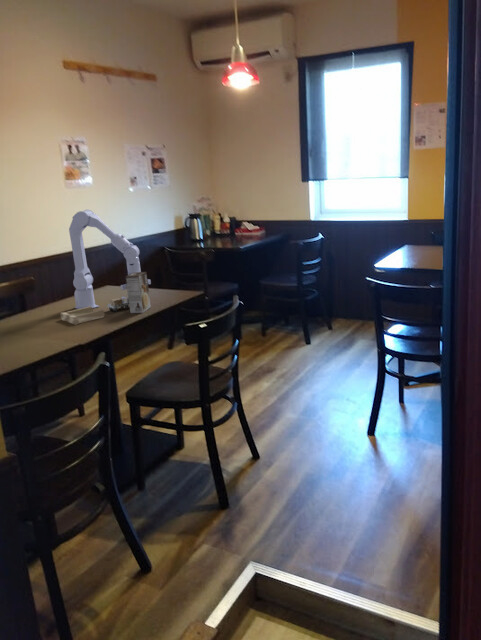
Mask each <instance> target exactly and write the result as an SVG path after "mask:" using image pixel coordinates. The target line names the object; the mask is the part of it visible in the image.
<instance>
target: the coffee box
mask: <svg viewBox="0 0 481 640" xmlns="http://www.w3.org/2000/svg"><path fill="white" fill-rule="evenodd" d="M124 277H125V284H126V285H127V289H126V290H127V291H126V292H127V297H128V299H129V313H130V314H137V313H145V312H147V311H149V309H151V308H152V305H151V304H152V303H151V298H150V297H151V296H150V289H149V284H148V274H147V271H141V272H136V273H132V274H130V275H128V274H127V275H126V276H124Z"/></svg>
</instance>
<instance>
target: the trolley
mask: <svg viewBox="0 0 481 640" xmlns="http://www.w3.org/2000/svg"><path fill="white" fill-rule="evenodd" d="M109 301H110V303H108V304H107V308H108V310H109V311H113V312H115V313H116V312H118V309H119V308H124V309H126V310H128V309H130V306H129V299H128V296H121V298H119V297H118V298H112V299H109Z"/></svg>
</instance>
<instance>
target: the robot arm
mask: <svg viewBox="0 0 481 640" xmlns="http://www.w3.org/2000/svg"><path fill="white" fill-rule="evenodd" d="M87 227H90V228H95V229H97V230H99V232H101V233H102V234H104V235H105V236H106V237H107V238H109V239H110V242H111V245H113V247H115V248H116V249H117V250H118V251H119V252H121V253H122V254H123V257H124V258H125V260H126V261H125V262H126V268H127V276H128V275H130V274H132V273H136V272H142V271H141V263H140V258H139V255H140V248H139V247H138V246H137V245H134V243H132V242H130V241H129V240H128V239H126V238H125V237H126V236H125V234H121V233H116V232H115V231H114V230H112V229H111V228H110V226H108V225H107V223H106V222H104V221H103V219H102V218H100V217H99V215H98V214H96V213H94V212H93V210H92V209H85V210H82V211H77V212H76V213H75V214H74V215H73V216H72V220H71V223H70V225H69V228H68V232H69V237H70V243H71V249H72V250H71V251H72V255H73V256H72V257H73V262H74V269H75V270H74V271H73V275H74V276H73V277H74V279H73V281H72V283H73V287H74V288H75V290H74V295H73V296H74V301H75V306H74V308H75V309H76V310H77V309H81V308H86V307H90V306H91V307H92V309H95V308H98V307H100V306H99V305H98V304H96V301H95V295H94V294H95V293H94V288H93V285H92V284H93V282H94V277H93V275H92V273H91V270H90V268H89V267H88V263H87V257H86V250H85V245H84V244H85V243H84V238H83V231H84V230H85V229H86V228H87ZM147 280H148V285H151V284H152V281H151V279H148V278H147ZM120 290H122V291H124V290H127V285H126V283H125V284H121V285H120Z"/></svg>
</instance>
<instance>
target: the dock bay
mask: <svg viewBox="0 0 481 640" xmlns="http://www.w3.org/2000/svg"><path fill="white" fill-rule="evenodd" d="M104 312H105V311H104V309H99V310H95V311H93V308H92V307H91V306H90V307H86V308H81V309H77V308H76V309H74V310H70V311H69V310H68V311H66V312H64V311H63V312H59V313H60V319H61V320H62V321H63V322H67V323H70V324H72V325H75V326H77V325H79V324H81V323H82V324H83V323H86V322H90V321H93V320H94V321H95V320H97V319H102V318H105V313H104Z"/></svg>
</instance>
